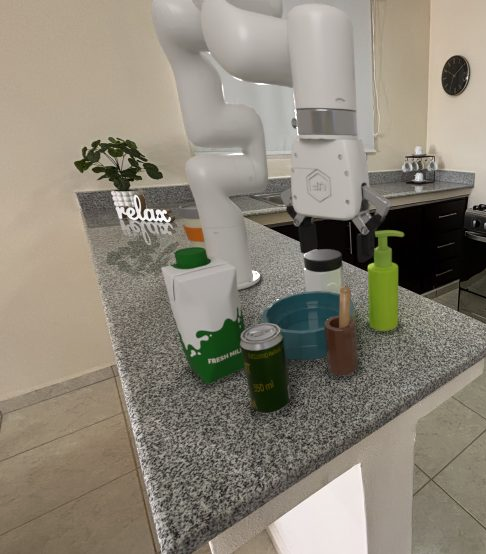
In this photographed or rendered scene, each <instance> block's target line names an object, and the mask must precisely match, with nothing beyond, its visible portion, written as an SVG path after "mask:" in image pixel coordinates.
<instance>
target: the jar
mask: <svg viewBox="0 0 486 554" xmlns="http://www.w3.org/2000/svg"><path fill="white" fill-rule="evenodd" d="M303 262H304V263H303V264H304V268H303V279H304V286H305V292H311V291H326V292H334V293H338V294H340V289H341V288H342V287H343V286H345V277H344V263H343V255H342V253H341V252H340V251H339V250H335V249H331V248H329V249H328V248H325V249H324V248H323V249H322V248H321V249H315V250H312V251H310V252H308V253H304V255H303Z"/></svg>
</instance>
